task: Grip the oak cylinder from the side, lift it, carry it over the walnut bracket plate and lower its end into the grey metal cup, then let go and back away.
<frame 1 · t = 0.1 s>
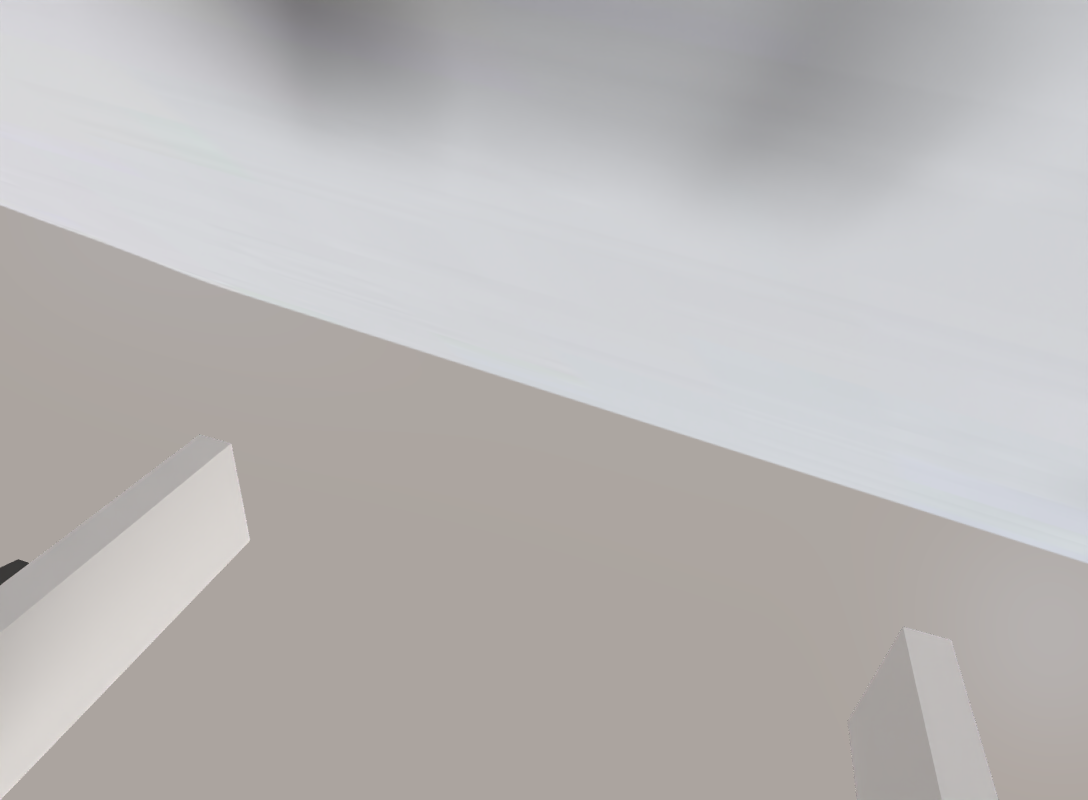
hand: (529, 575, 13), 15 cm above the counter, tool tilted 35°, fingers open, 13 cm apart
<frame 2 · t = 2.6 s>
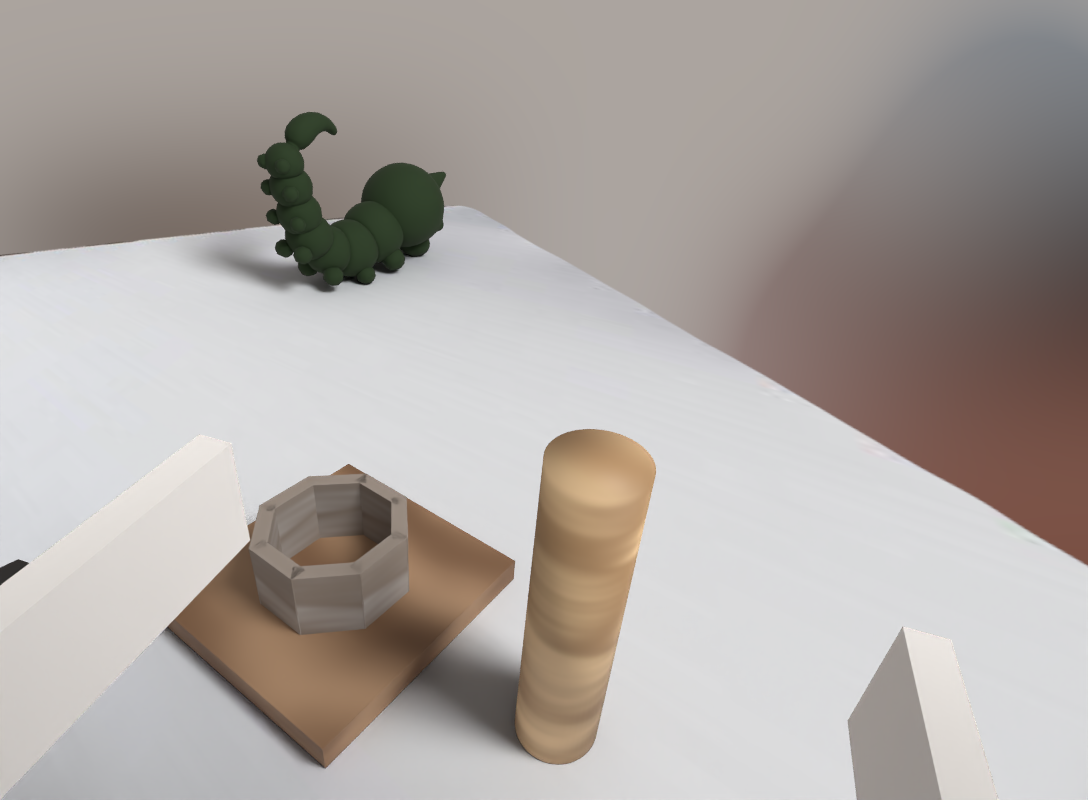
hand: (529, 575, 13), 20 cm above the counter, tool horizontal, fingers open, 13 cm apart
oak cylinder: (555, 722, 32), on the counter
toy figurine: (374, 270, 78), on the counter
cup bracket: (340, 593, 37), on the counter
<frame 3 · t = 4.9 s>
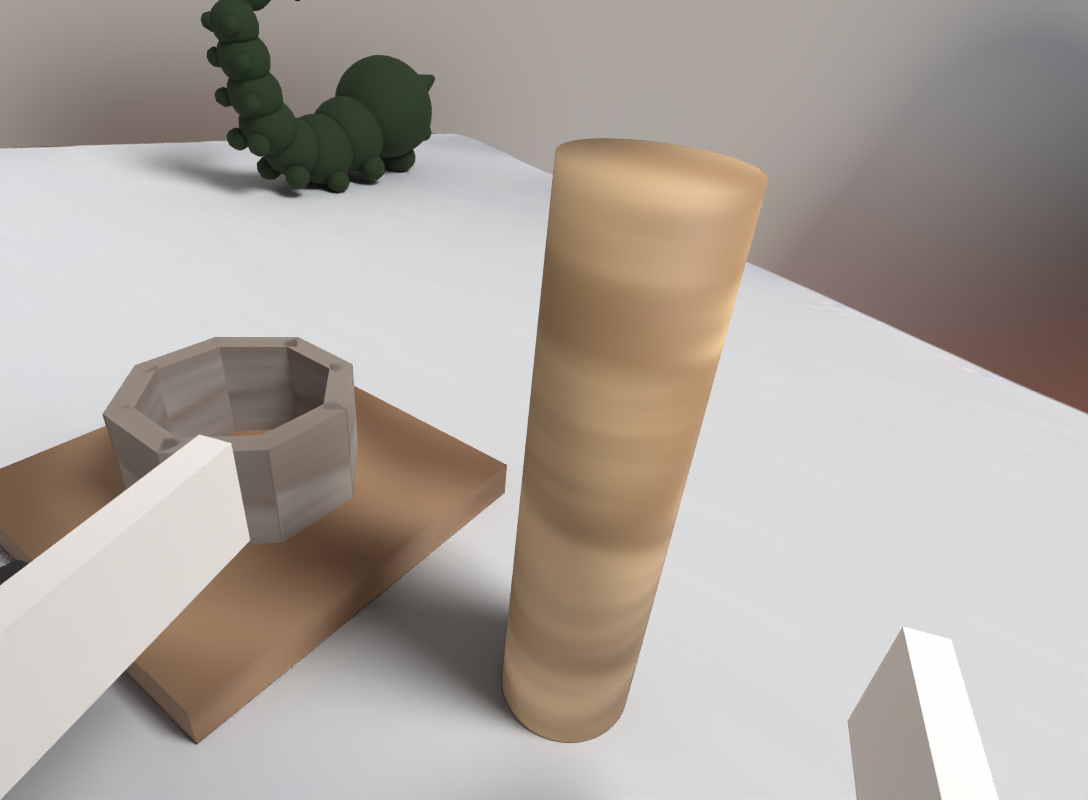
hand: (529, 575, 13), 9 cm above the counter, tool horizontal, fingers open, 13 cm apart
oak cylinder: (564, 681, 21), on the counter
toy figurine: (350, 182, 67), on the counter
cup bracket: (259, 504, 26), on the counter
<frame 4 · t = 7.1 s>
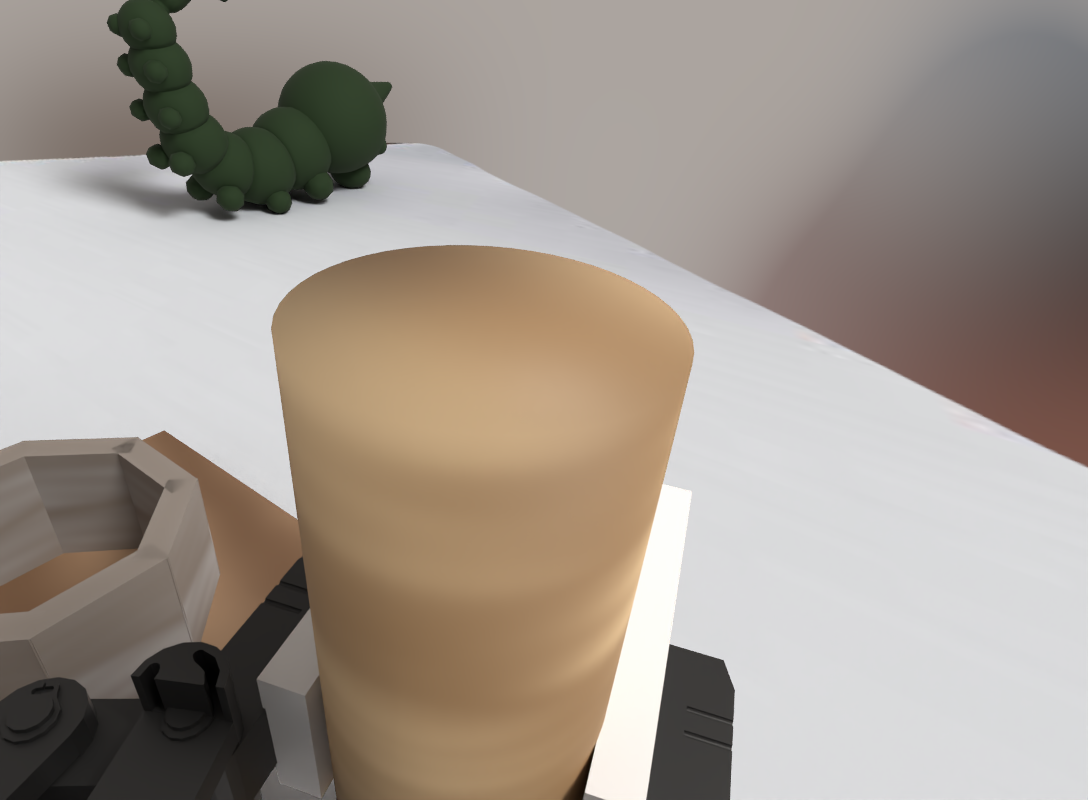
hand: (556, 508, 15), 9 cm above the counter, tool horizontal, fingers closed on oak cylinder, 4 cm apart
toy figurine: (296, 201, 61), on the counter
cup bracket: (83, 656, 20), on the counter
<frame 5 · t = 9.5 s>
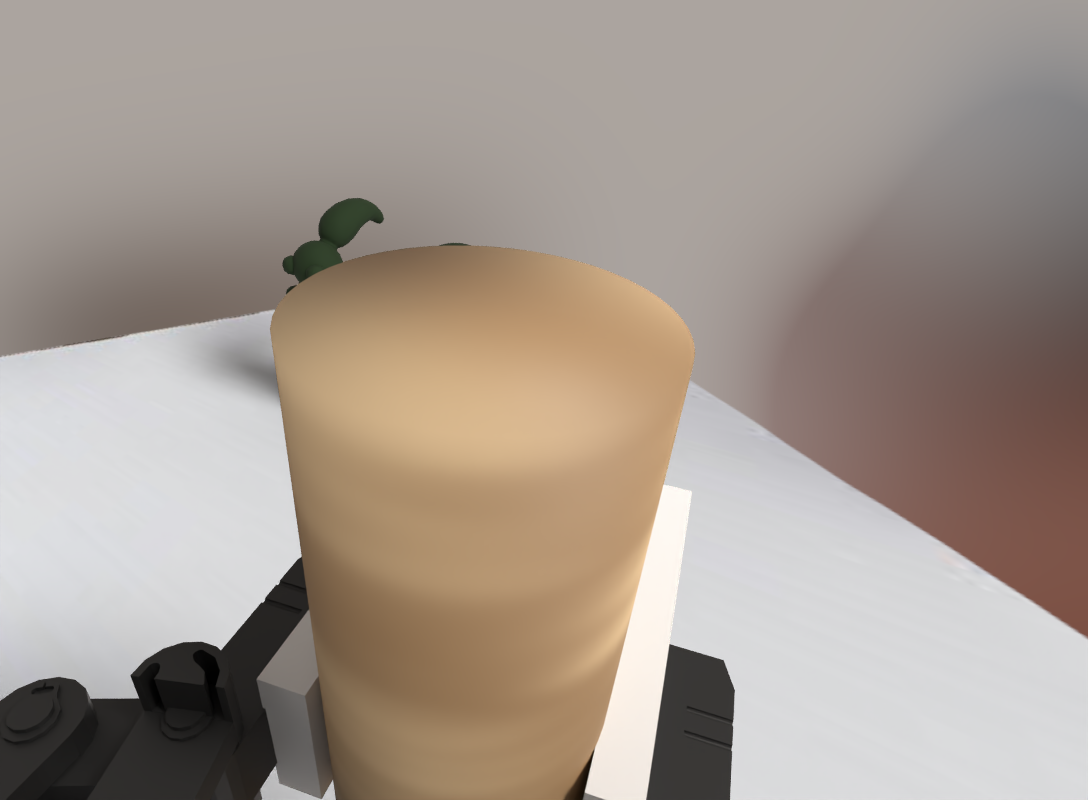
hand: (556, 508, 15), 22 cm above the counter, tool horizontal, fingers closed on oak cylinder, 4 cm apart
toy figurine: (421, 373, 63), on the counter
when the fingers open (12 cm above the counter, at t = 12.2 s): oak cylinder drops 1 cm, resting on cup bracket.
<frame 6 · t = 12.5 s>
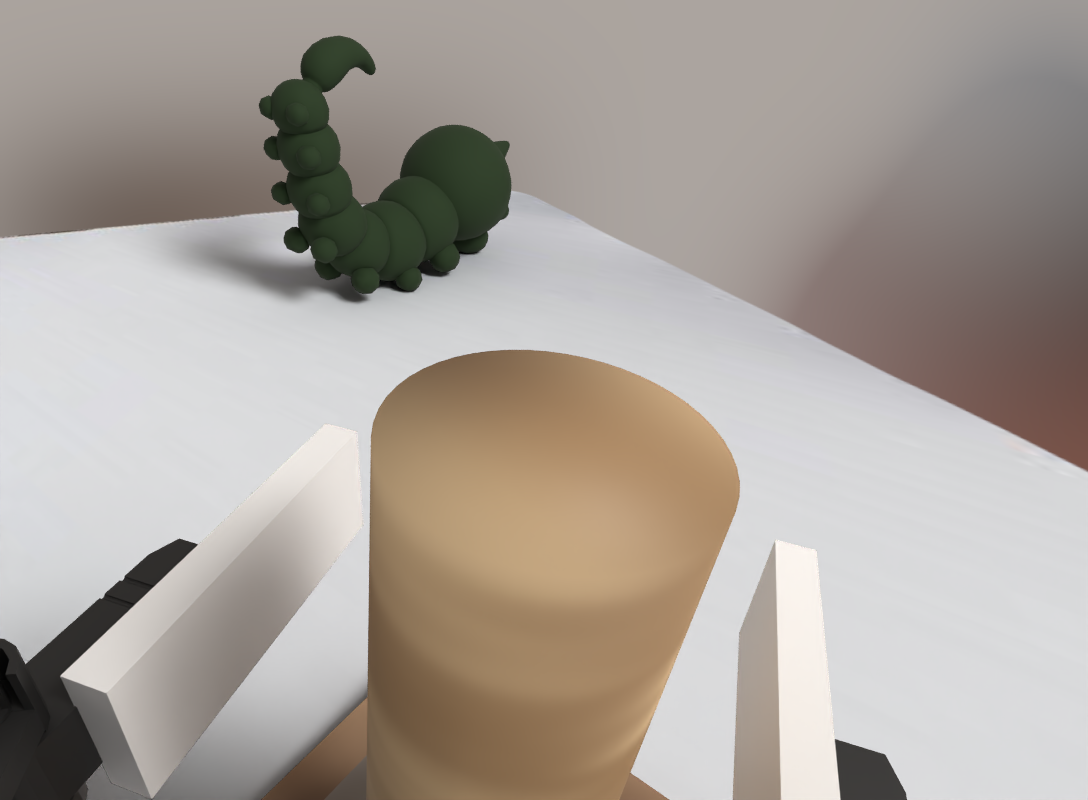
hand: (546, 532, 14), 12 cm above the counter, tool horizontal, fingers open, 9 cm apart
toy figurine: (417, 271, 57), on the counter
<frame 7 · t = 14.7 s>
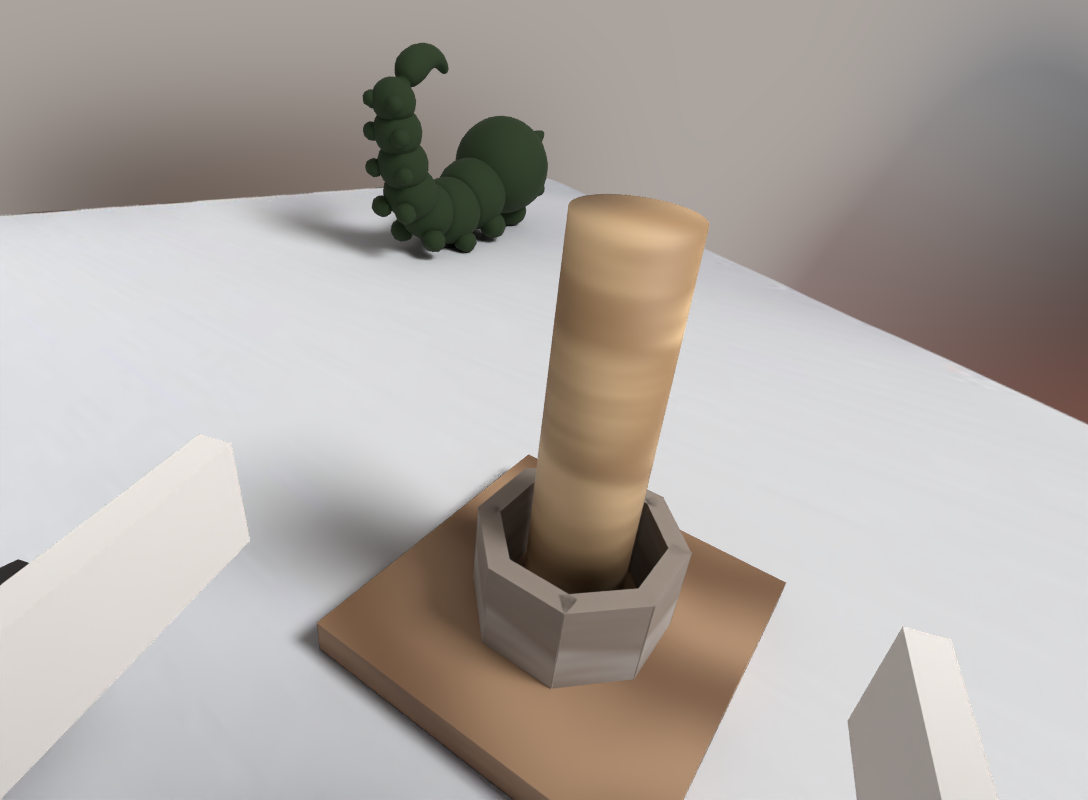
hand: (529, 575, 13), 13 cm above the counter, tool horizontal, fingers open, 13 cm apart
oak cylinder: (569, 601, 27), point 2 cm above the counter, touching cup bracket
toy figurine: (469, 238, 68), on the counter
cup bracket: (565, 625, 28), on the counter
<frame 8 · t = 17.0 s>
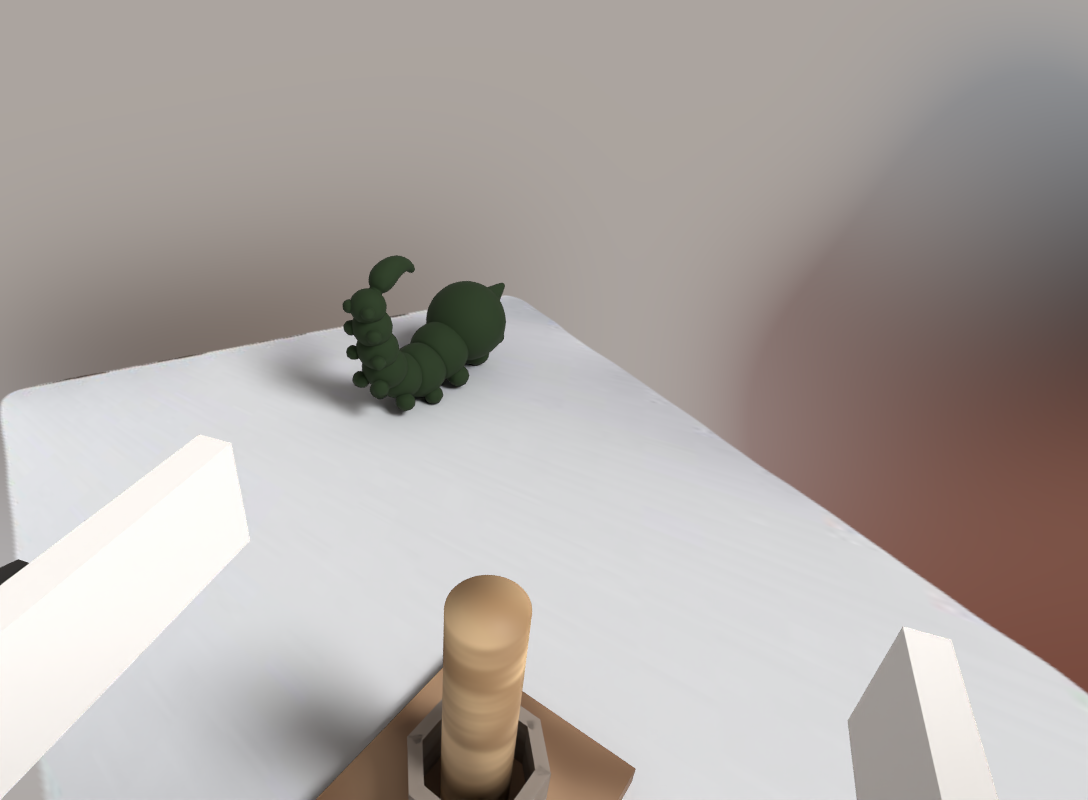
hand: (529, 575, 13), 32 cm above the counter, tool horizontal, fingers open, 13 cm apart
oak cylinder: (474, 793, 39), point 2 cm above the counter, touching cup bracket
toy figurine: (438, 383, 80), on the counter
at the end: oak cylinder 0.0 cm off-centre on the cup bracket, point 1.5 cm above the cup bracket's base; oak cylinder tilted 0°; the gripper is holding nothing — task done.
